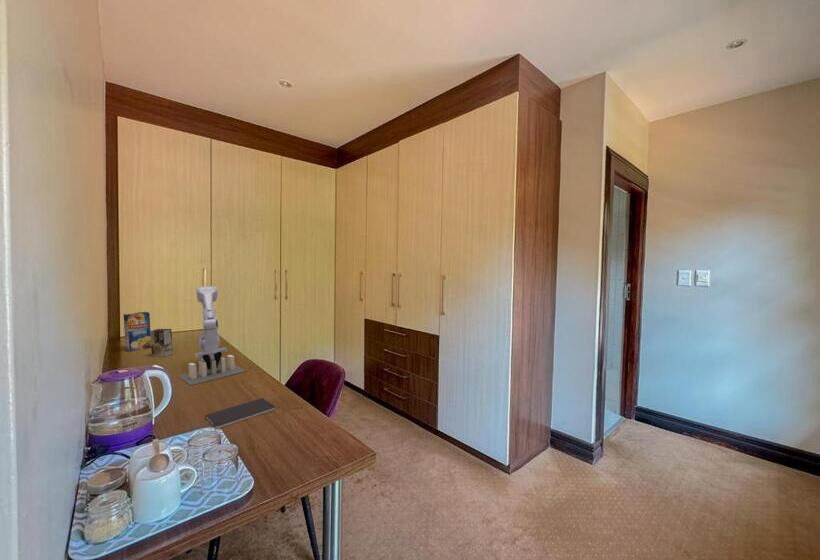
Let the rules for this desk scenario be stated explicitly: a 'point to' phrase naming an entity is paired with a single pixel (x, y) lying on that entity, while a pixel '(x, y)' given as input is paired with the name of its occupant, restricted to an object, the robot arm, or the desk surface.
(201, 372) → the domino
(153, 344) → the coffee box
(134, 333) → the blue food box
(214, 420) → the notebook
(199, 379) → the charcoal mat
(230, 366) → the domino
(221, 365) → the domino
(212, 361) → the sage domino
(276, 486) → the desk surface
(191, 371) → the domino
